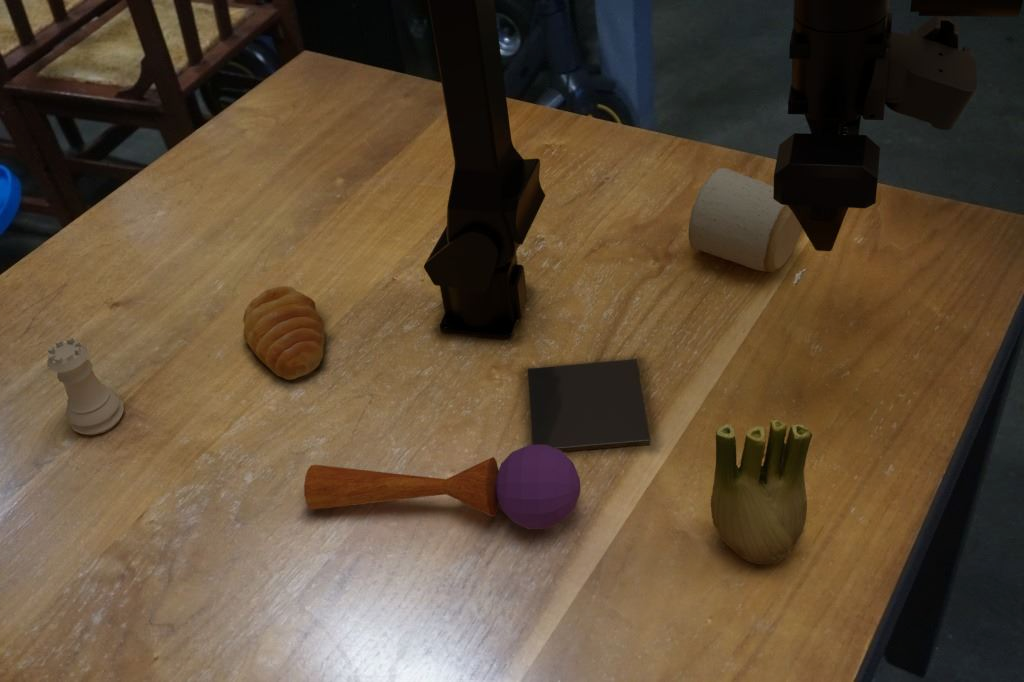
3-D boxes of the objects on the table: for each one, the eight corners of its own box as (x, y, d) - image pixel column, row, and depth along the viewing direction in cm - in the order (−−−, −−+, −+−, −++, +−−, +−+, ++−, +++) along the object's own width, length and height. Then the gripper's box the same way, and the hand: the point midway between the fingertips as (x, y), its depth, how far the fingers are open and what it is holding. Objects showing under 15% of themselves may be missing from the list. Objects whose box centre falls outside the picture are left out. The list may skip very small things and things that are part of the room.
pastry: (345, 366, 93) (335, 333, 91) (269, 396, 92) (257, 363, 89) (311, 304, 100) (302, 272, 97) (240, 331, 98) (228, 298, 96)
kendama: (316, 430, 83) (579, 426, 78) (333, 492, 86) (588, 491, 81) (289, 481, 78) (569, 480, 73) (309, 544, 81) (578, 547, 77)
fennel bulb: (703, 551, 76) (708, 435, 68) (732, 501, 79) (740, 384, 71) (783, 584, 74) (798, 468, 66) (809, 531, 77) (827, 414, 69)
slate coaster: (533, 454, 84) (532, 450, 84) (528, 372, 91) (527, 368, 91) (650, 444, 84) (650, 440, 84) (636, 362, 91) (636, 358, 90)
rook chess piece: (77, 446, 89) (39, 376, 84) (67, 412, 92) (30, 343, 87) (131, 424, 91) (97, 354, 85) (119, 391, 94) (86, 322, 88)
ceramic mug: (769, 292, 95) (776, 220, 90) (684, 264, 99) (687, 193, 94) (819, 228, 101) (828, 157, 96) (737, 203, 105) (742, 134, 100)
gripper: (981, 92, 60) (947, 303, 71) (976, -60, 73) (947, 139, 83) (774, 89, 64) (771, 291, 74) (803, -56, 76) (796, 135, 87)
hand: (828, 209), depth 80 cm, fingers open, 9 cm apart
